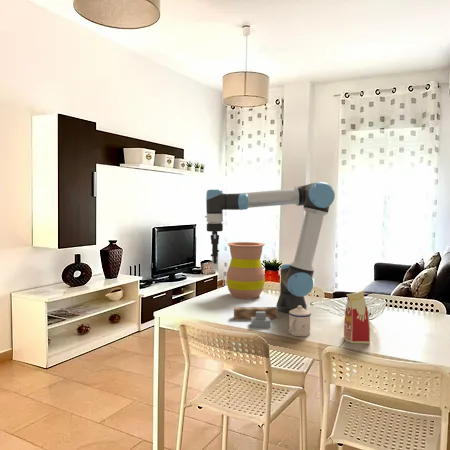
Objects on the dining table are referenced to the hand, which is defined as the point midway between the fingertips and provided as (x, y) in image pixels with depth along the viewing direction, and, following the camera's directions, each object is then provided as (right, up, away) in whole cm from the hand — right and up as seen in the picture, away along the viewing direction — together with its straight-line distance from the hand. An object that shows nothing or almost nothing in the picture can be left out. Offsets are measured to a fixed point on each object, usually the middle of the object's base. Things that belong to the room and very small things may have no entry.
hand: (215, 268), depth 202 cm
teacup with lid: (+35, -25, -23) cm, 49 cm away
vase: (+16, -21, +46) cm, 53 cm away
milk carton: (+57, -26, -29) cm, 69 cm away
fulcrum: (+20, -24, -12) cm, 34 cm away
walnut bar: (+19, -24, 0) cm, 30 cm away
